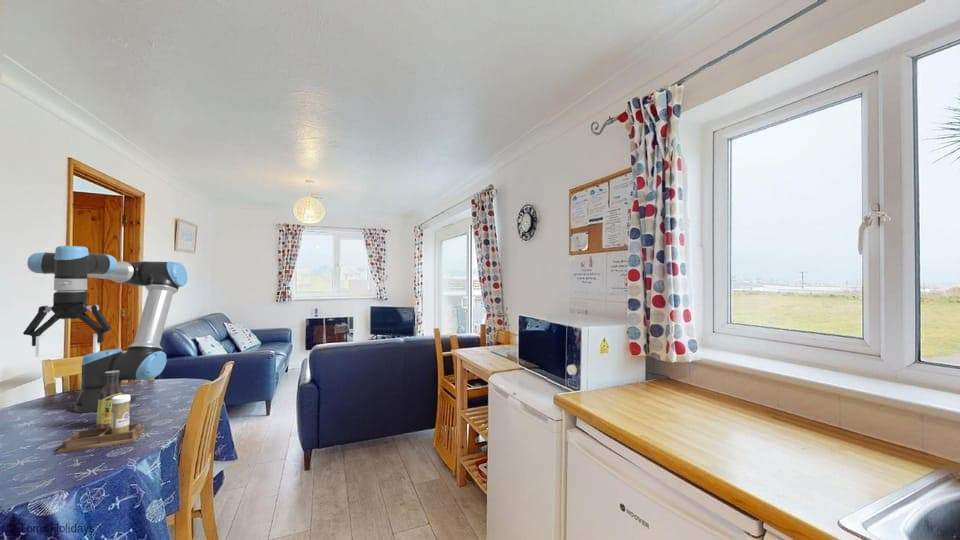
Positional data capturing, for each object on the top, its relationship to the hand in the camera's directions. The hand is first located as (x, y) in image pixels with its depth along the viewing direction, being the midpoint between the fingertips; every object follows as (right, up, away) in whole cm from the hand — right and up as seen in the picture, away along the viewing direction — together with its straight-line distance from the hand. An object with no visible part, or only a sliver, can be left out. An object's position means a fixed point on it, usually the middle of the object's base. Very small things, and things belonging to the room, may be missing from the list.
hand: (68, 354), depth 121 cm
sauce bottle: (+3, -29, +10) cm, 31 cm away
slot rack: (+14, -29, -1) cm, 32 cm away
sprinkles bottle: (+17, -28, +1) cm, 33 cm away
